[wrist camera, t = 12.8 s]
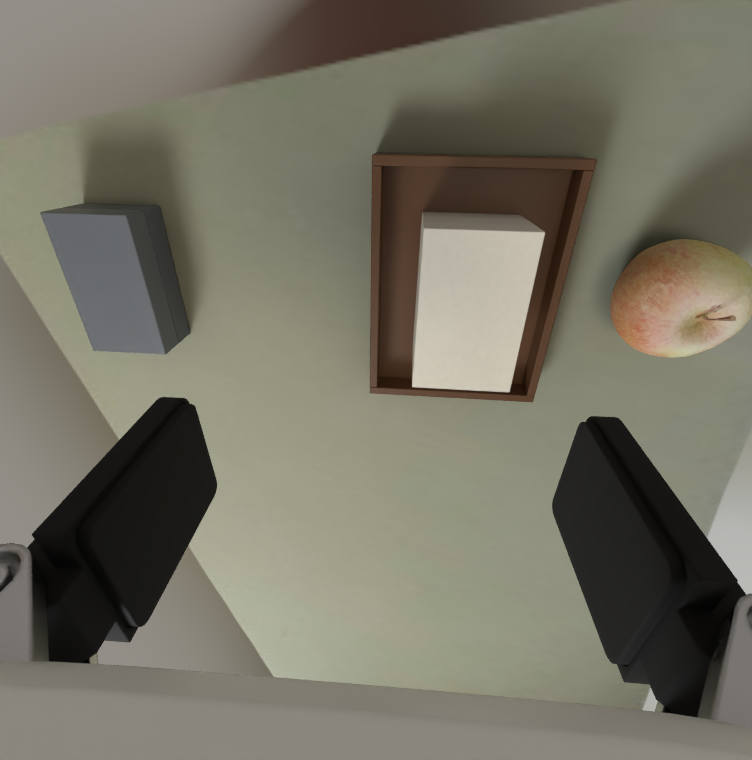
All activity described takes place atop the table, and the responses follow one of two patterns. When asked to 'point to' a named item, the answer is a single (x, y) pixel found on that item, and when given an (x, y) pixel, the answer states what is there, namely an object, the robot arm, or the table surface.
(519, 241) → the white book
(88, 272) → the grey book upper
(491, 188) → the book tray
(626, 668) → the robot arm
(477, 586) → the table surface
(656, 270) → the fruit
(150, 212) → the grey book lower
